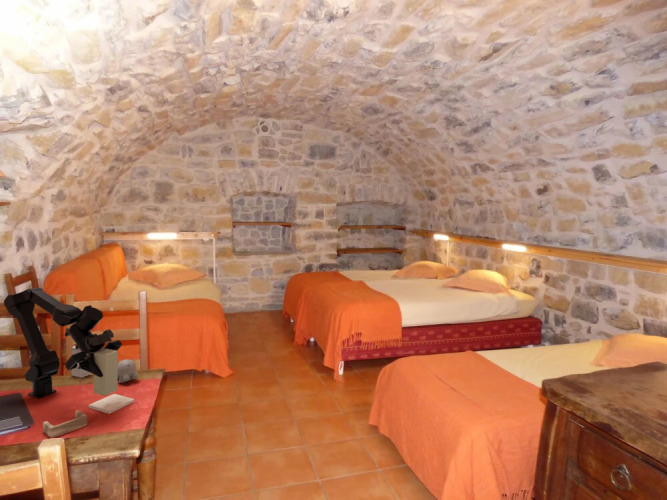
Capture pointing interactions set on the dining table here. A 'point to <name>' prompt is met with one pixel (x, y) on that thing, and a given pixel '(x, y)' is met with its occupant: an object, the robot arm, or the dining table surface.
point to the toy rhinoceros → (126, 371)
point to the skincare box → (77, 371)
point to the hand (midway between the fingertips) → (108, 373)
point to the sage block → (106, 372)
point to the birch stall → (65, 425)
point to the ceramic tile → (111, 403)
